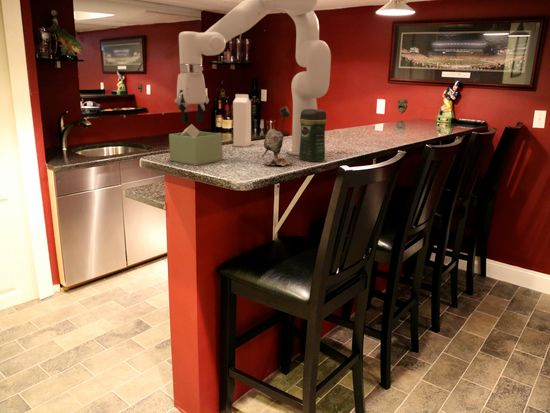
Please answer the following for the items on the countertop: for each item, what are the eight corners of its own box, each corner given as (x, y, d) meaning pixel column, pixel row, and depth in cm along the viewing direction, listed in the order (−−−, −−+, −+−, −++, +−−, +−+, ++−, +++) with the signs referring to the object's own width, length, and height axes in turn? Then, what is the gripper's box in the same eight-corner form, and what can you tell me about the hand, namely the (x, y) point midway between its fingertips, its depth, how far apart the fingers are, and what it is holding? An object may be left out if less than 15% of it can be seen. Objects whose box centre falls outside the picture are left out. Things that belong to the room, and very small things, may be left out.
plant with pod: (272, 160, 163) (272, 105, 157) (295, 165, 156) (297, 106, 150) (256, 163, 157) (256, 105, 152) (279, 168, 150) (280, 107, 144)
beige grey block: (200, 131, 160) (191, 123, 159) (194, 139, 157) (185, 131, 156) (192, 137, 164) (184, 129, 163) (187, 145, 161) (178, 137, 160)
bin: (222, 159, 164) (221, 133, 161) (196, 165, 153) (195, 137, 151) (196, 155, 171) (195, 130, 168) (170, 160, 161) (168, 134, 158)
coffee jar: (328, 160, 164) (330, 109, 159) (311, 163, 160) (313, 110, 155) (311, 156, 172) (313, 107, 167) (295, 158, 168) (296, 108, 162)
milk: (238, 144, 201) (238, 93, 195) (251, 145, 199) (251, 94, 193) (233, 146, 195) (232, 94, 189) (246, 146, 194) (245, 94, 187)
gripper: (201, 70, 163) (202, 120, 168) (164, 69, 149) (167, 123, 154) (216, 70, 158) (217, 121, 163) (179, 69, 145) (182, 125, 150)
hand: (193, 122), depth 159 cm, fingers open, 6 cm apart
